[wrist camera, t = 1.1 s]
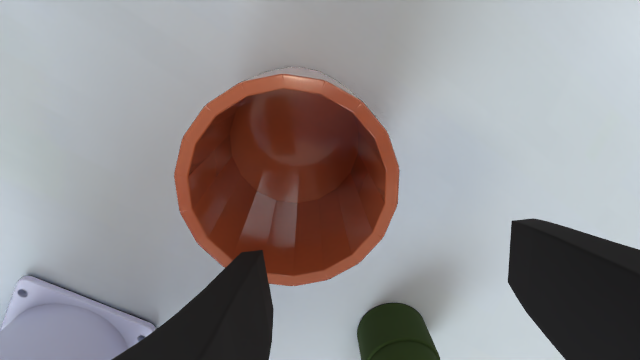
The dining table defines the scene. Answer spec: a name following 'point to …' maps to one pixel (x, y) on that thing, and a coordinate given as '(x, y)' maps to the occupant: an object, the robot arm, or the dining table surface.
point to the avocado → (395, 335)
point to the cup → (288, 176)
